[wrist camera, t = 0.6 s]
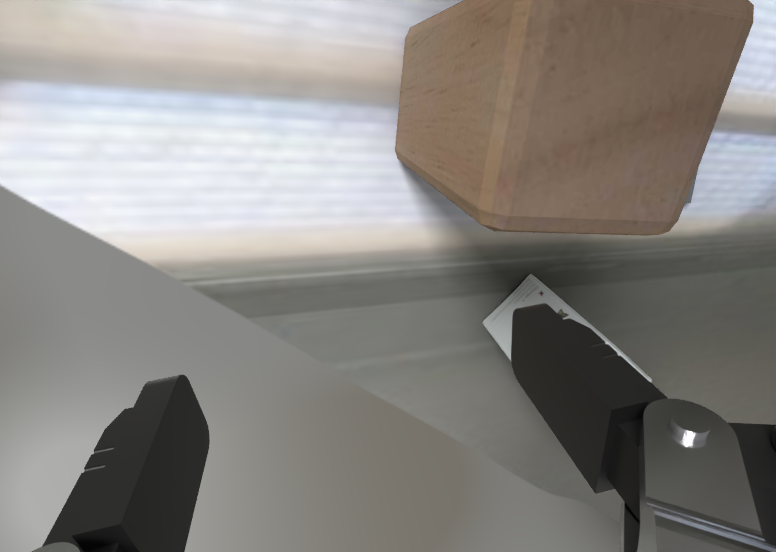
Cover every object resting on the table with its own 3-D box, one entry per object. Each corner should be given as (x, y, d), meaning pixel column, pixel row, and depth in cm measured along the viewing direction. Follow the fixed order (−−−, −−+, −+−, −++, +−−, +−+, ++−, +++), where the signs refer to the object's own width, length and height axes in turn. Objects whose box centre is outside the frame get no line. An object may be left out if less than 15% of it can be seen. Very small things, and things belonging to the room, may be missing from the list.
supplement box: (529, 270, 43) (611, 337, 31) (569, 308, 46) (657, 382, 34) (478, 321, 44) (539, 402, 33) (520, 355, 47) (589, 440, 36)
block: (403, 24, 32) (536, -52, 14) (524, 40, 34) (778, -9, 16) (391, 160, 36) (482, 237, 18) (500, 167, 38) (680, 242, 20)
